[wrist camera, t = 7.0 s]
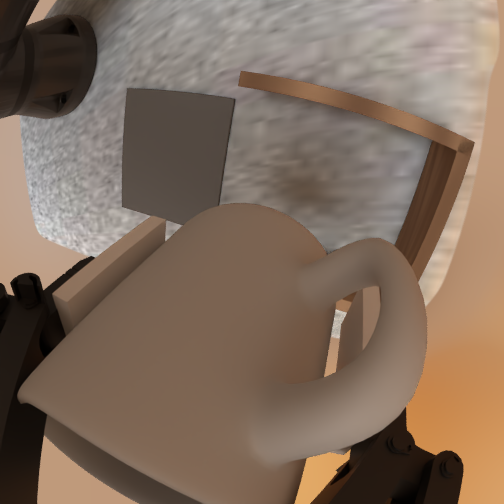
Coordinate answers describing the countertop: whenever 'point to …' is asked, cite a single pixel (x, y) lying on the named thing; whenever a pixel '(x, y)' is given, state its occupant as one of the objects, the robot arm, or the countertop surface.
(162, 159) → the mat
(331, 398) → the mug
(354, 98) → the open-sided wooden frame
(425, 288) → the countertop surface
